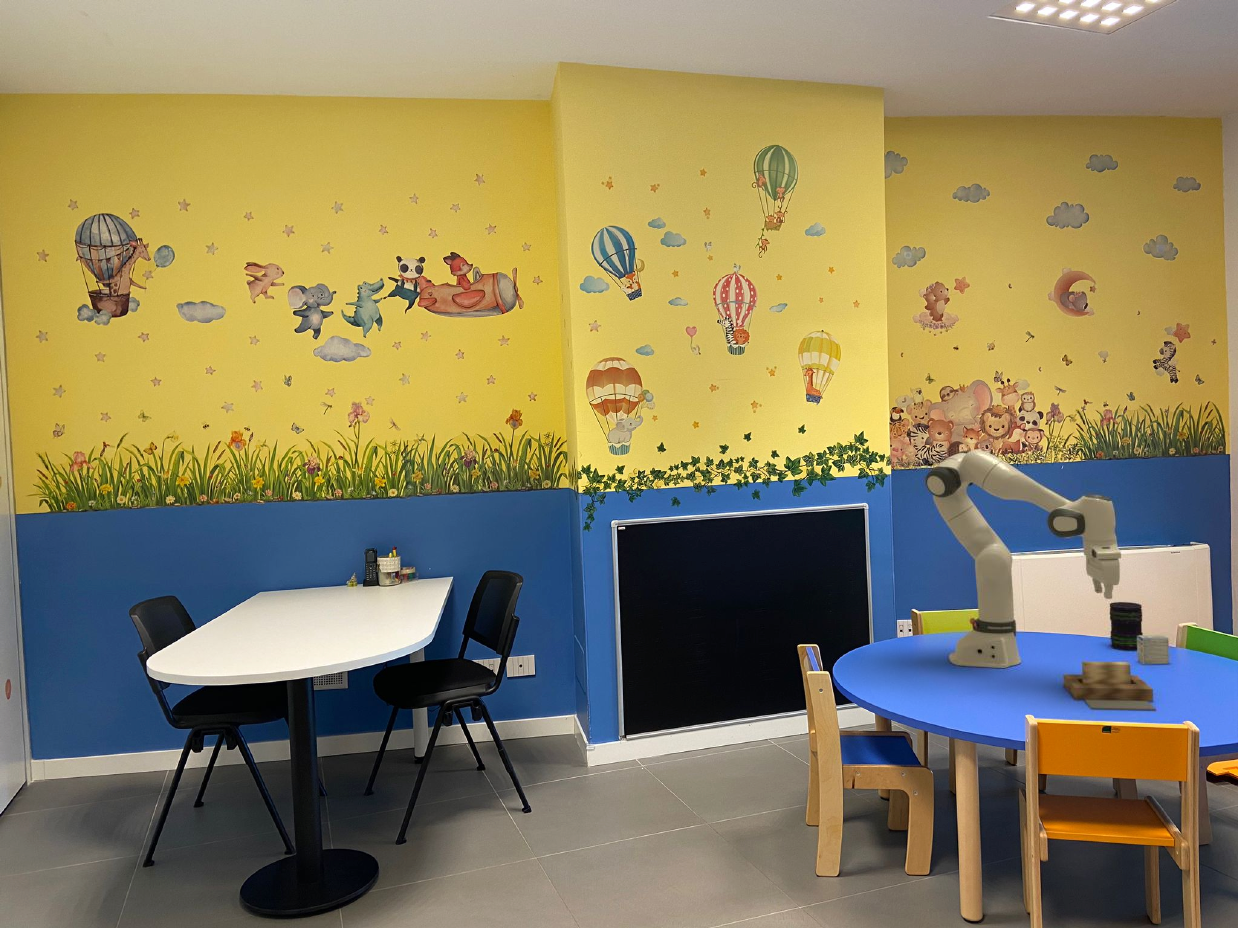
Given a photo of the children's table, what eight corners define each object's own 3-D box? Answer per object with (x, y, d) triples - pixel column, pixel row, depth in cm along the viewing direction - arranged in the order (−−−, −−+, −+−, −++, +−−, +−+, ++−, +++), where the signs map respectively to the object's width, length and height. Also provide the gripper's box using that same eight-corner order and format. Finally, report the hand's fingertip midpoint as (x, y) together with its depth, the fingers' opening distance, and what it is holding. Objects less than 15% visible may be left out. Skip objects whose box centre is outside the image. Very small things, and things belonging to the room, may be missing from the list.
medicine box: (1162, 660, 289) (1161, 634, 288) (1169, 664, 284) (1168, 637, 284) (1137, 661, 289) (1136, 635, 289) (1143, 664, 285) (1143, 638, 285)
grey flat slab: (1091, 709, 245) (1091, 707, 245) (1084, 701, 252) (1084, 699, 252) (1155, 710, 241) (1155, 708, 241) (1147, 702, 248) (1147, 700, 248)
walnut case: (1075, 699, 254) (1075, 687, 254) (1063, 685, 268) (1063, 674, 268) (1153, 701, 249) (1152, 688, 249) (1137, 686, 263) (1136, 675, 263)
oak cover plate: (1085, 694, 258) (1084, 664, 258) (1083, 691, 261) (1081, 661, 261) (1131, 695, 256) (1130, 664, 255) (1128, 692, 258) (1126, 661, 258)
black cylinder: (1150, 649, 303) (1149, 606, 302) (1124, 652, 301) (1123, 608, 300) (1129, 642, 312) (1127, 601, 312) (1104, 645, 311) (1102, 603, 310)
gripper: (1079, 545, 273) (1082, 589, 273) (1098, 554, 253) (1101, 602, 253) (1101, 544, 271) (1104, 588, 272) (1122, 553, 252) (1126, 601, 252)
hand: (1103, 595), depth 262 cm, fingers open, 8 cm apart
